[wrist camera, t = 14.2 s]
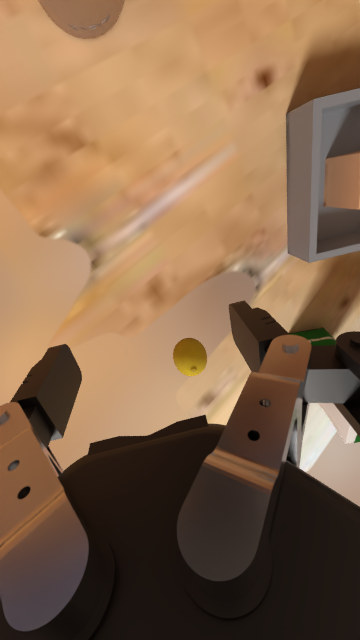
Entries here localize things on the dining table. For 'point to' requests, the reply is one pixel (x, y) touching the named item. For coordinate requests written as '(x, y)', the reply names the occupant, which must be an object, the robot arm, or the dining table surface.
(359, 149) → the big crate
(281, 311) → the dining table surface
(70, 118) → the dining table surface
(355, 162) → the box
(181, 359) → the lemon
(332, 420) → the milk carton
